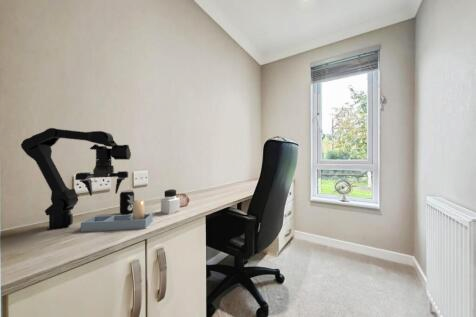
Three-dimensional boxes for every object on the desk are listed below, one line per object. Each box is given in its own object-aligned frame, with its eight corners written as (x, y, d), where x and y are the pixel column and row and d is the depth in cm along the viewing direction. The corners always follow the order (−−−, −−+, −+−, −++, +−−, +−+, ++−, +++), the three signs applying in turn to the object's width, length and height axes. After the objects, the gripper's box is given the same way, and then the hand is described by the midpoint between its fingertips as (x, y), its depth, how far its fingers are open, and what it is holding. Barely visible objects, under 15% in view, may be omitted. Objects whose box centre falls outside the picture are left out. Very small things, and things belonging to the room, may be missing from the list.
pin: (135, 226, 78) (135, 202, 78) (131, 224, 81) (131, 201, 81) (146, 223, 81) (146, 200, 81) (141, 221, 84) (141, 199, 84)
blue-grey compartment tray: (80, 231, 75) (80, 222, 75) (94, 224, 83) (94, 216, 83) (145, 228, 78) (145, 219, 78) (152, 221, 86) (152, 213, 86)
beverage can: (123, 215, 95) (123, 192, 96) (117, 213, 99) (117, 191, 99) (136, 212, 101) (136, 190, 101) (130, 210, 105) (130, 189, 105)
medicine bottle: (180, 211, 103) (180, 189, 103) (169, 214, 97) (169, 191, 97) (171, 209, 107) (171, 188, 107) (160, 212, 101) (160, 190, 101)
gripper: (70, 160, 73) (70, 200, 73) (126, 159, 81) (126, 195, 81) (79, 160, 83) (79, 195, 82) (128, 159, 91) (128, 191, 91)
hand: (104, 194), depth 84 cm, fingers open, 9 cm apart
